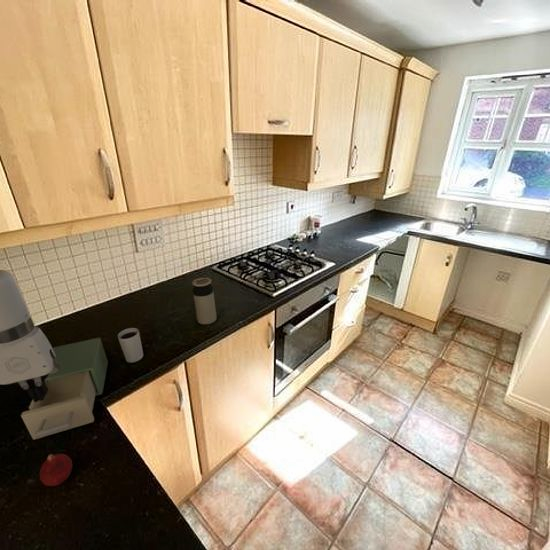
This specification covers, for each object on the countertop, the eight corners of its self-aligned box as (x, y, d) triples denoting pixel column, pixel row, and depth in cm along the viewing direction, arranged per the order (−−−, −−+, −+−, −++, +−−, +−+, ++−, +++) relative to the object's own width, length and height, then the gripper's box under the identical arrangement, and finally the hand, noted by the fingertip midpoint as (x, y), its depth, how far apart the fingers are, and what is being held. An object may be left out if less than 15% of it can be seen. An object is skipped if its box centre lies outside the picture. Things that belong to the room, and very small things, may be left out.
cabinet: (102, 394, 90) (93, 367, 86) (44, 410, 86) (31, 382, 81) (107, 362, 104) (100, 337, 100) (58, 374, 99) (47, 348, 95)
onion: (81, 475, 68) (71, 451, 65) (54, 499, 64) (41, 475, 60) (68, 463, 71) (57, 439, 68) (41, 485, 66) (27, 461, 63)
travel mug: (220, 317, 129) (215, 279, 121) (208, 326, 122) (203, 287, 115) (205, 313, 132) (200, 276, 125) (193, 322, 126) (187, 283, 118)
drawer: (90, 437, 76) (81, 412, 73) (26, 457, 72) (13, 432, 68) (100, 384, 93) (93, 363, 89) (49, 398, 88) (39, 376, 85)
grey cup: (137, 348, 110) (131, 325, 106) (148, 355, 107) (142, 331, 103) (120, 359, 105) (113, 335, 101) (131, 365, 102) (124, 341, 98)
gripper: (-47, 349, 56) (-7, 420, 63) (48, 330, 61) (75, 398, 68) (-27, 328, 62) (7, 395, 69) (57, 313, 67) (81, 377, 74)
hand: (40, 396), depth 69 cm, fingers closed
